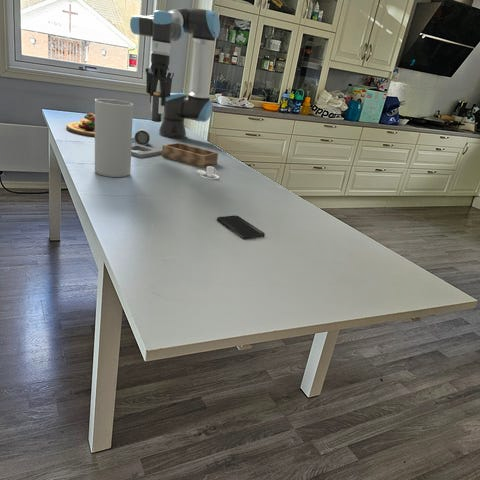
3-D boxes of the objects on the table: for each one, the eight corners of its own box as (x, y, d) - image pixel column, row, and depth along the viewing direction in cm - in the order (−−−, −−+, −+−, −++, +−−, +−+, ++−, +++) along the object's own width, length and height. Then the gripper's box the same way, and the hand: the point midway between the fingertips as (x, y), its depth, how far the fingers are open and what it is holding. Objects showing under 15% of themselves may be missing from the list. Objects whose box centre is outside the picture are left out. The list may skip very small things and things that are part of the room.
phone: (237, 215, 125) (266, 234, 114) (236, 218, 126) (265, 237, 115) (215, 217, 121) (243, 237, 110) (214, 220, 121) (243, 241, 110)
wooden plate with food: (64, 124, 220) (64, 108, 216) (124, 128, 234) (125, 113, 230) (68, 136, 194) (68, 118, 191) (136, 140, 208) (137, 124, 205)
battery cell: (155, 120, 181) (157, 89, 176) (162, 121, 179) (165, 91, 174) (149, 120, 177) (151, 89, 172) (156, 122, 176) (158, 91, 171)
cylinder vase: (137, 176, 150) (140, 105, 140) (106, 179, 141) (107, 104, 131) (118, 167, 157) (120, 99, 147) (88, 169, 148) (87, 98, 138)
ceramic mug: (149, 143, 205) (150, 128, 202) (149, 146, 198) (150, 131, 195) (128, 141, 203) (129, 126, 200) (127, 144, 196) (128, 129, 193)
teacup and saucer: (194, 174, 165) (194, 164, 163) (208, 172, 170) (209, 163, 169) (208, 180, 160) (209, 170, 158) (223, 178, 165) (224, 169, 164)
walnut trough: (161, 156, 184) (162, 145, 182) (177, 153, 194) (178, 142, 192) (202, 167, 175) (204, 156, 173) (217, 163, 185) (218, 152, 183)
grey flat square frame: (136, 146, 193) (136, 143, 192) (162, 153, 187) (162, 150, 187) (114, 150, 181) (114, 146, 180) (140, 158, 175) (140, 154, 174)
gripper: (138, 50, 168) (136, 109, 177) (171, 55, 161) (166, 116, 170) (151, 52, 174) (148, 108, 183) (182, 57, 167) (177, 115, 177)
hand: (157, 112), depth 177 cm, fingers closed on battery cell, 4 cm apart
